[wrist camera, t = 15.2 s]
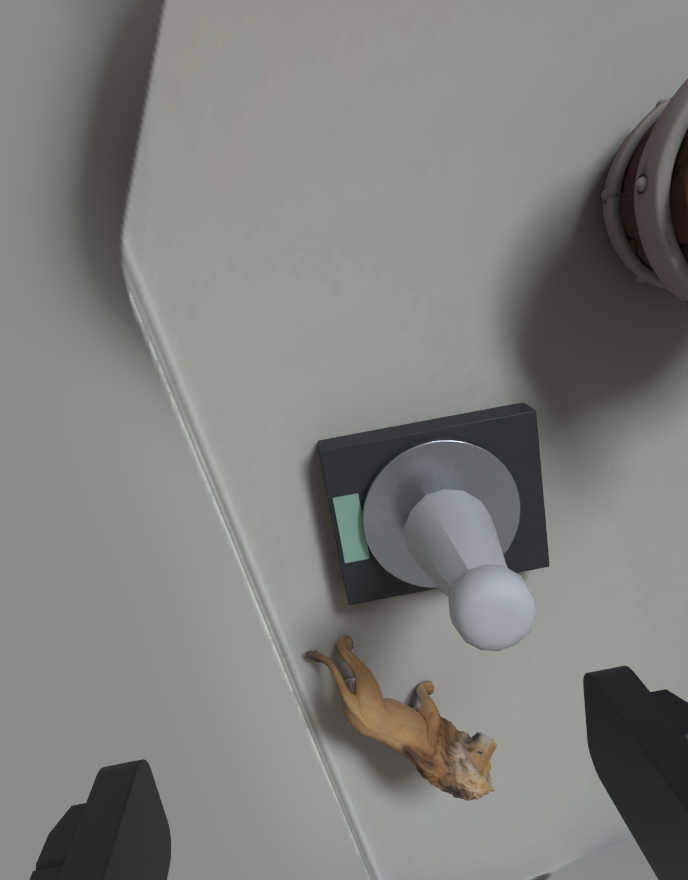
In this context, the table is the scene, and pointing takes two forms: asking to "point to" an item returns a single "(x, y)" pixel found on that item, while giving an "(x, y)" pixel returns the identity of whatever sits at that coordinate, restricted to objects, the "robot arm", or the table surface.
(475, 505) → the salt shaker
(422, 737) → the lion figurine
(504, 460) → the scale
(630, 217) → the flowerpot
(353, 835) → the table surface
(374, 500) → the scale pan
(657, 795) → the robot arm
